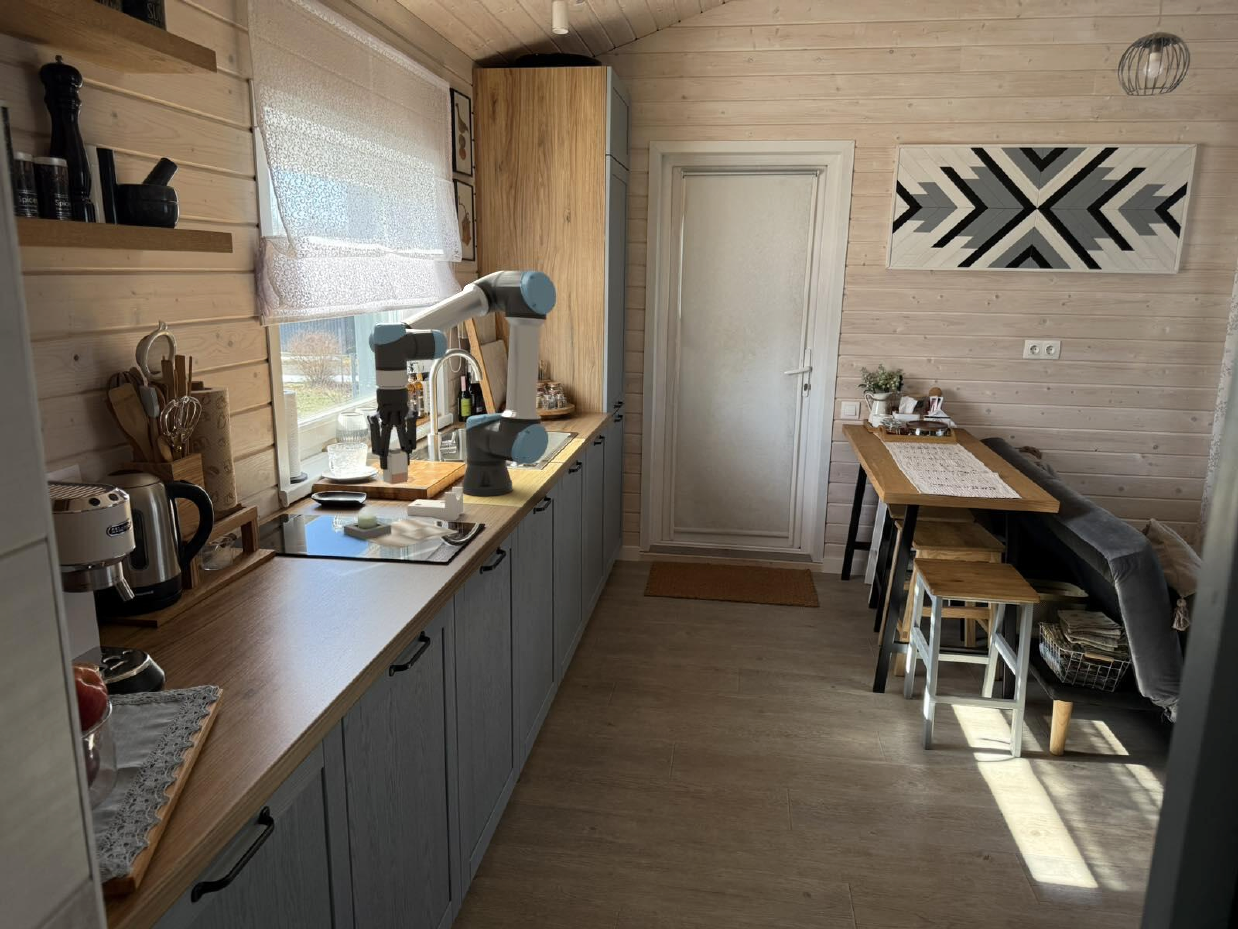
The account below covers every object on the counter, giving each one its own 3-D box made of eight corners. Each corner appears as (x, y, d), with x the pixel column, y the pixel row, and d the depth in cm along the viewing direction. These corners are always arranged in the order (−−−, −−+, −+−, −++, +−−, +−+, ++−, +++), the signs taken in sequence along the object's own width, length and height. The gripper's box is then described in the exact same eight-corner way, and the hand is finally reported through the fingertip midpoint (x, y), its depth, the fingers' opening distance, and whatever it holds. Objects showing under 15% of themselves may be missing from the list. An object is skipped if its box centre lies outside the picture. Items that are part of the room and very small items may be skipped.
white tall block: (397, 479, 218) (396, 446, 216) (407, 481, 216) (405, 449, 214) (384, 481, 215) (382, 449, 214) (393, 484, 213) (391, 451, 211)
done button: (369, 523, 214) (369, 514, 213) (380, 527, 211) (380, 517, 210) (354, 527, 210) (353, 517, 210) (365, 531, 208) (364, 521, 207)
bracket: (463, 514, 233) (462, 487, 232) (454, 521, 227) (454, 493, 225) (417, 512, 235) (416, 485, 234) (407, 518, 228) (406, 491, 227)
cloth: (411, 519, 226) (410, 516, 226) (464, 534, 214) (464, 531, 213) (341, 536, 210) (340, 533, 210) (394, 554, 198) (394, 550, 197)
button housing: (371, 526, 216) (371, 519, 216) (391, 532, 212) (391, 525, 211) (343, 533, 210) (343, 525, 210) (363, 540, 205) (363, 532, 205)
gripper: (412, 383, 219) (415, 472, 224) (352, 388, 207) (357, 483, 211) (430, 385, 214) (433, 477, 219) (370, 391, 202) (374, 488, 207)
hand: (395, 480), depth 215 cm, fingers closed on white tall block, 4 cm apart
